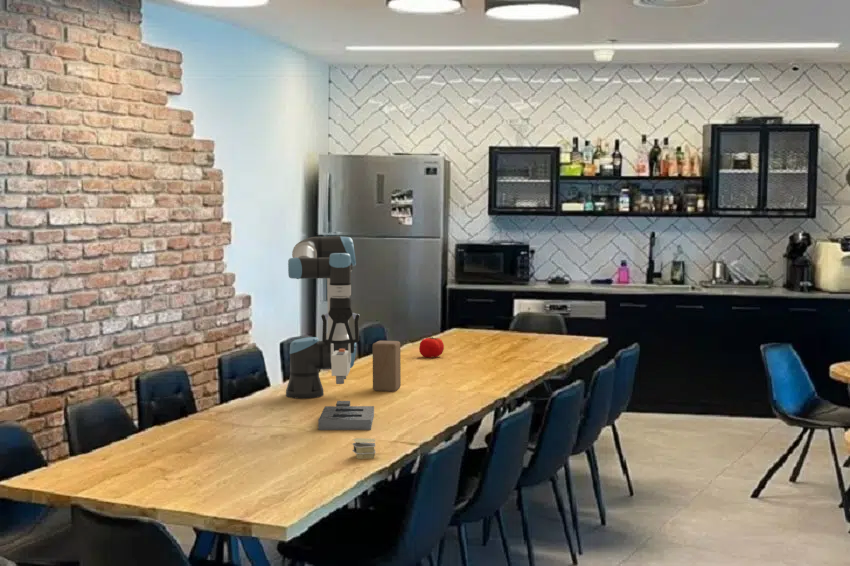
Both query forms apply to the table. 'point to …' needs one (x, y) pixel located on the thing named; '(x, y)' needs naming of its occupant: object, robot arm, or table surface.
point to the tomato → (431, 347)
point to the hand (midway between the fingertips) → (341, 362)
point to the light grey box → (340, 365)
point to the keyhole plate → (346, 418)
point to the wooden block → (386, 366)
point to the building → (364, 448)
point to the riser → (343, 403)
